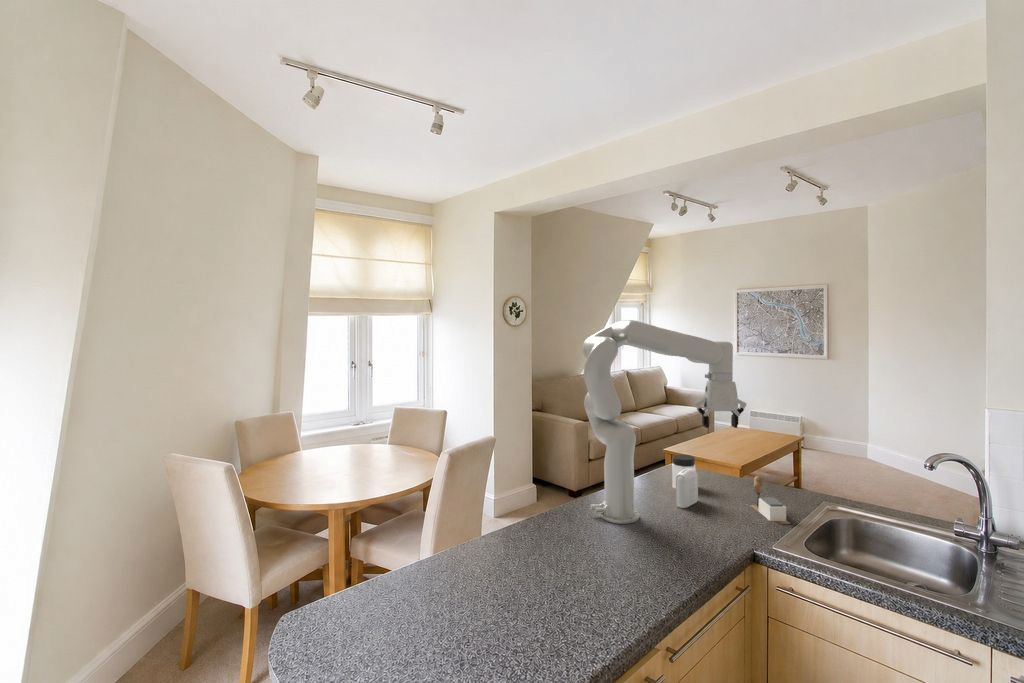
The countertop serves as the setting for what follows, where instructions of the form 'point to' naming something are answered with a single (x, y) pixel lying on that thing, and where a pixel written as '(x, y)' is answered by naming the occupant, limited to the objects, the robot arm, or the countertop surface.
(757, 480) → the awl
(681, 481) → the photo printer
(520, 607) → the countertop surface
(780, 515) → the white and grey block
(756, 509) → the strip
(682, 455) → the jar
